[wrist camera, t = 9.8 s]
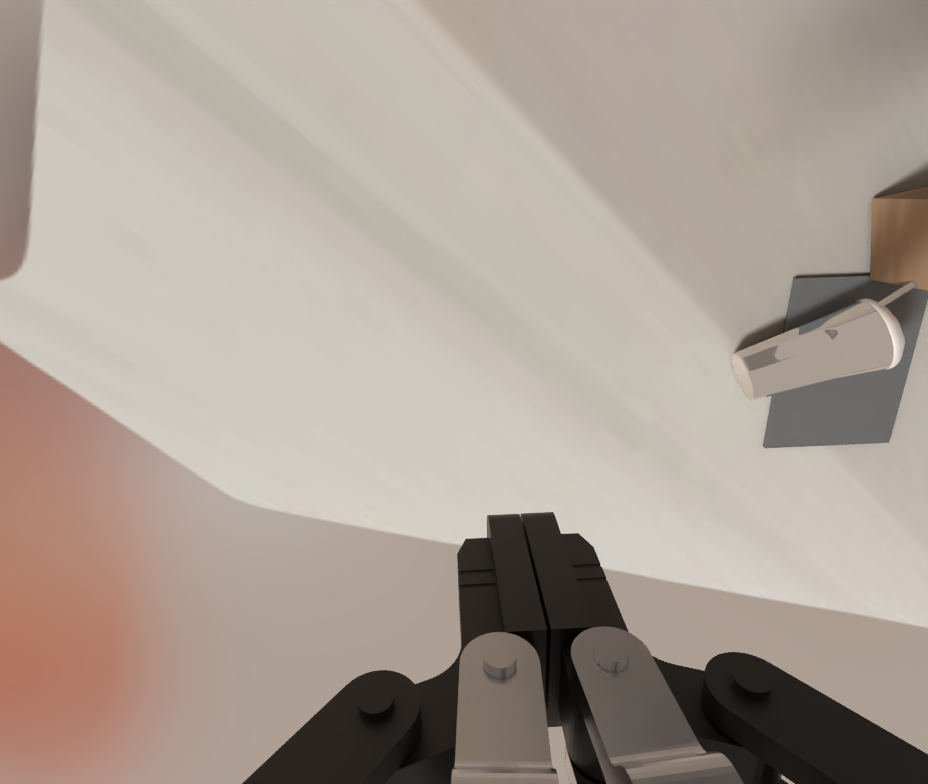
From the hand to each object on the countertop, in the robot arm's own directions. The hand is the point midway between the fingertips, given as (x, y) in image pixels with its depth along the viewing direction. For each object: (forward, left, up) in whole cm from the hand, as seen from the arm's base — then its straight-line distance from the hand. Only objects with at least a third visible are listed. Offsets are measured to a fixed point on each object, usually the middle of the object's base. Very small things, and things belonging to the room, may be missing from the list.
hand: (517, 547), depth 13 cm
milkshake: (+5, +17, -23) cm, 29 cm away
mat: (+5, +26, -25) cm, 36 cm away
